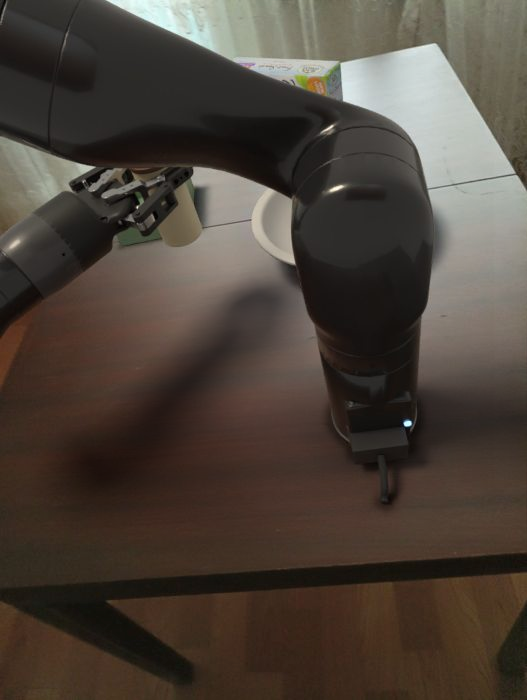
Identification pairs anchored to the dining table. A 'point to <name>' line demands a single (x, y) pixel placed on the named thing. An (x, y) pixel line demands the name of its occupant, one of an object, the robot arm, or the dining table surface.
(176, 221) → the canister
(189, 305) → the dining table surface
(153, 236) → the bin
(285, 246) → the soup bowl
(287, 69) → the snack box
